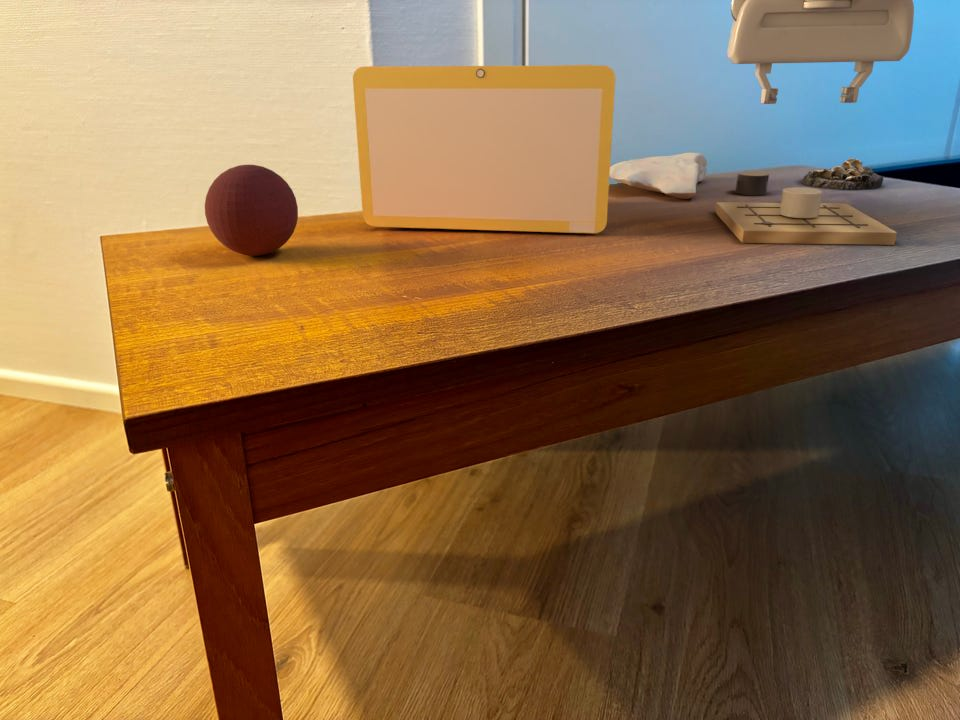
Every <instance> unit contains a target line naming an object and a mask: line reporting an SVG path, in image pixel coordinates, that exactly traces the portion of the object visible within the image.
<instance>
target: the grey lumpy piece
mask: <svg viewBox="0 0 960 720" xmlns="http://www.w3.org/2000/svg"><path fill="white" fill-rule="evenodd" d="M883 181H884V176H883V175H879V174H877V173H875V172H874V171H873V169H872V167H870V166H863V161H861V160H859V159H857V158H847V160H845V161H843V162H842V164H841V165H836V166H833V167H832V168H829V169H828V168H824V169H816V170H813V172H812V171H808V172H807V173H806V174H805V175H804V177H803V178H802V180H801V181H800V183H801V184H803V185H804V186H809V187H815V188H823V189H833V190H847V191H848V190H852V191H853V190H874V189H878V188H881V187H882V185H883Z"/></svg>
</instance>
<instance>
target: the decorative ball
mask: <svg viewBox="0 0 960 720" xmlns="http://www.w3.org/2000/svg"><path fill="white" fill-rule="evenodd" d="M204 216H205V219H206V224H208V228H209V229H210V231H211V232H212V235H213V236H214V237H215V238H216V239H217V241H218V242H220V243H221V244H222V246H224V247H225V248H227V249H229V250H231V251H232V252H234V253H237V254H241V255H243V256H255V257H256V256H265V255H268V254H271V253H273V252H275V251H277V250H278V249H280V248H282V247H283V246H284V245H285V244H286V243H287V242H288V241H289V240H290V238H291V237H292V235H294V232H295V230H296V227H297V224H298V219H299V205H298V202H297V198H296V196H295V194H294V191H293V189H292V188H291V185H289V183H288V182H287V181H286V180H285V179H284V178H283V177H282V176H281V175H280V174H278V173H277V172H275V171H274V170H273V169H269V168H267V167H265V166H262V165H256V164H240V165H236V166H233V167H230V168H228V169H226V170H225V171H223V172H221V173H219V175H218V176H217V177H216V178H215V179H214V180H213V182H211V185H210V186H209V187H208V190H207V193H206V195H205V201H204Z"/></svg>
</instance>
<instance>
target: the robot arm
mask: <svg viewBox="0 0 960 720" xmlns="http://www.w3.org/2000/svg"><path fill="white" fill-rule="evenodd" d="M730 14H731V17H732V19H733V22H732V25H731V29H730V34H729V37H728V44H727V51H726V56H727V58H728V60H729V61H730V63H732V64H734V65H755V66H754V67H755V68H754V75H755V77H756V79H757V81H758V84H759V86H760V88H761V94H760V103H761V104H762V105H775V104H777V101H778V97H777V96H778V93H779V88H776V87H772V86H771V84H770V81H769V79H768V77H767V74H768V75H770V74H771V73H772V67H773V64H808V63H809V64H810V63H811V64H814V63H815V64H817V63H818V64H819V63H854V68H853V71H854V72H856V73H857V74H856V75H855V76H854V78H853V79H852V81H851V82H850V83H849V85H848V86H841V88H840V94H841V95H840V96H839V102H840V103H843V104H855V103H857V101H858V97H859V93H860V88H861V87H862V86H863V85H864V83H865V82H866V81H867V79H868V78H869V77H870V75H871V74H872V73H873V69H874V63H875V62H900V61H901V60H902V59H903V58H904V57H905V56H906V55H907V54H908V53H909V51H910V47H911V44H912V43H911V42H912V36H913V31H914V30H913V29H914V21H915V20H914V18H915V4H914V0H731V6H730Z"/></svg>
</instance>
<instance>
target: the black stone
mask: <svg viewBox="0 0 960 720" xmlns="http://www.w3.org/2000/svg"><path fill="white" fill-rule="evenodd" d="M769 179H770V173H768V172H764V171H757V170H755V171H754V170H748V171H747V170H744V171H739V172H737V176H736V185H735V193H736V194H737V195H742V196H753V197H755V196H756V197H757V196H758V197H760V196H765V195H767V192H768V186H769Z"/></svg>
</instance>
